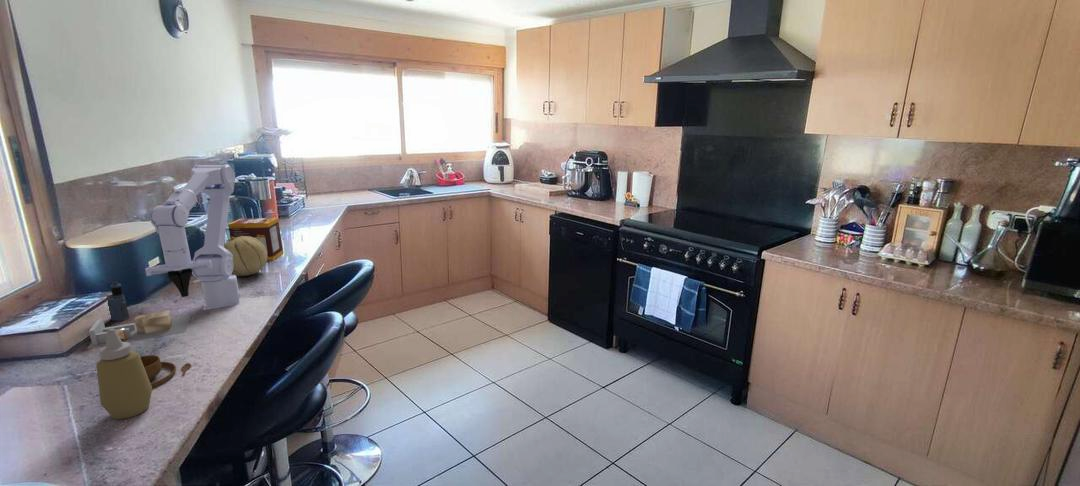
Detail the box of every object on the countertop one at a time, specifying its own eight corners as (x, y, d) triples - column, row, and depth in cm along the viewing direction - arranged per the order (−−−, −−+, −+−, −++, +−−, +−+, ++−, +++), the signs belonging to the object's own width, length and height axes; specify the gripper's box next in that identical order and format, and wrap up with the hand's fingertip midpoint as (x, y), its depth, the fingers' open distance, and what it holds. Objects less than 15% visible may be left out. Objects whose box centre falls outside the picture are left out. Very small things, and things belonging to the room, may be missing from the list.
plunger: (128, 334, 131) (126, 326, 130) (125, 340, 128) (123, 332, 127) (116, 336, 130) (114, 328, 129) (112, 342, 127) (110, 334, 126)
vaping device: (123, 323, 140) (113, 283, 136) (108, 321, 141) (98, 282, 137) (132, 319, 142) (123, 280, 139) (117, 318, 143) (108, 279, 140)
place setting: (83, 405, 102) (76, 380, 101) (115, 361, 120) (110, 339, 118) (184, 386, 109) (179, 362, 108) (200, 347, 127) (196, 327, 125)
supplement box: (245, 254, 206) (239, 218, 202) (283, 253, 208) (278, 217, 203) (233, 261, 196) (226, 223, 192) (273, 260, 198) (268, 222, 193)
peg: (172, 323, 138) (169, 310, 137) (170, 329, 135) (167, 315, 134) (139, 329, 135) (136, 315, 133) (136, 334, 131) (132, 321, 130)
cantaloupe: (277, 272, 183) (272, 234, 179) (236, 284, 171) (229, 242, 167) (256, 266, 190) (250, 228, 186) (215, 276, 178) (208, 237, 174)
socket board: (190, 317, 143) (187, 303, 142) (185, 333, 133) (182, 318, 132) (100, 332, 134) (96, 317, 132) (87, 351, 124) (82, 334, 122)
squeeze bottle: (124, 400, 103) (104, 321, 98) (165, 398, 103) (147, 320, 99) (93, 424, 95) (70, 340, 90) (138, 422, 96) (117, 338, 91)
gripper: (139, 256, 126) (150, 305, 129) (206, 248, 133) (215, 295, 136) (144, 249, 132) (155, 296, 135) (208, 242, 139) (216, 287, 142)
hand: (185, 295), depth 136 cm, fingers closed
